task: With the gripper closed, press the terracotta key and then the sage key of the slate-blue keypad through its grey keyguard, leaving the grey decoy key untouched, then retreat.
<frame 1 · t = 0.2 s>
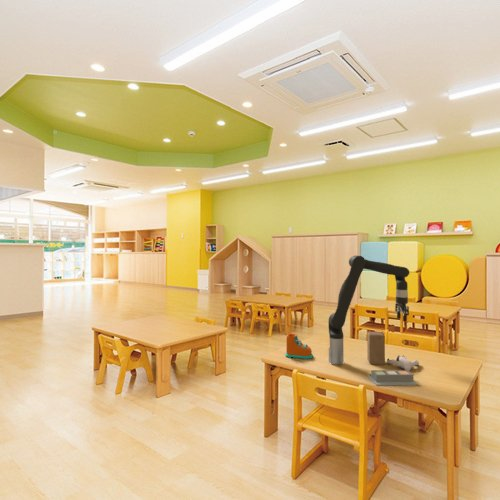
hand: (401, 319, 231), 29 cm above the table, fingers open, 8 cm apart
keypad board: (392, 380, 199), on the table
wooden block: (375, 362, 231), on the table
key sage: (380, 374, 199), point 4 cm above the table, slide at 0.0 cm
toy shoe: (299, 356, 245), on the table
key grey: (391, 374, 199), point 3 cm above the table, slide at 0.0 cm
yeti figurine: (403, 367, 223), on the table
key terracotta: (403, 374, 199), point 3 cm above the table, slide at 0.0 cm
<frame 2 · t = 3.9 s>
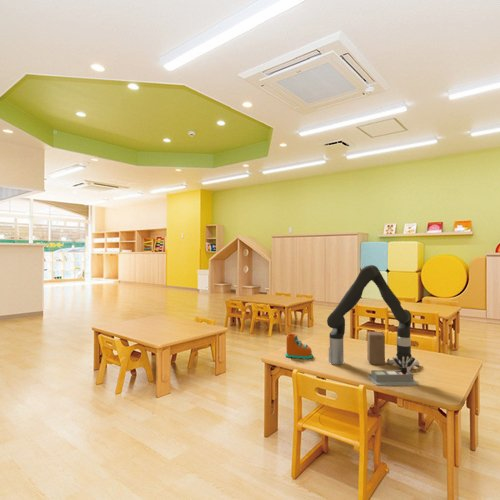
hand: (403, 373, 199), 4 cm above the table, fingers closed
key terracotta: (403, 375, 199), point 3 cm above the table, slide at 0.5 cm, touching gripper
everything else where it was.
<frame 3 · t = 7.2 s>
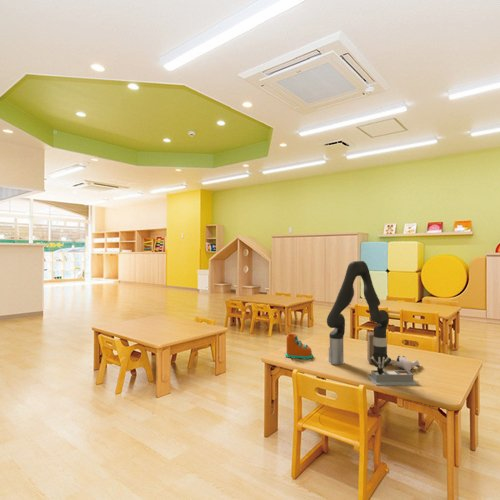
hand: (380, 374, 199), 4 cm above the table, fingers closed
key sage: (380, 375, 199), point 3 cm above the table, slide at 0.6 cm, touching gripper
key terracotta: (403, 376, 199), point 2 cm above the table, slide at 1.1 cm
everything else where it was.
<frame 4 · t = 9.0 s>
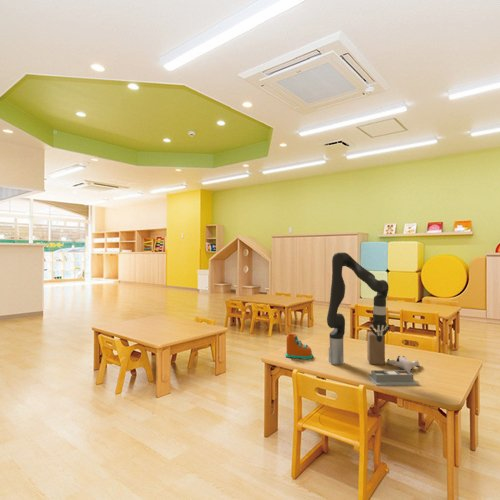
hand: (379, 341, 206), 21 cm above the table, fingers closed
key sage: (380, 376, 199), point 2 cm above the table, slide at 1.1 cm
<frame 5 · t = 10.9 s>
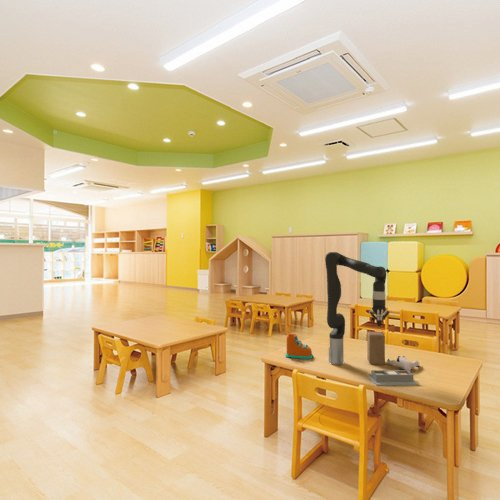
hand: (379, 325, 213), 29 cm above the table, fingers closed
at the end: key terracotta slide at 1.1 cm; key sage slide at 1.1 cm; key grey slide at 0.0 cm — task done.
